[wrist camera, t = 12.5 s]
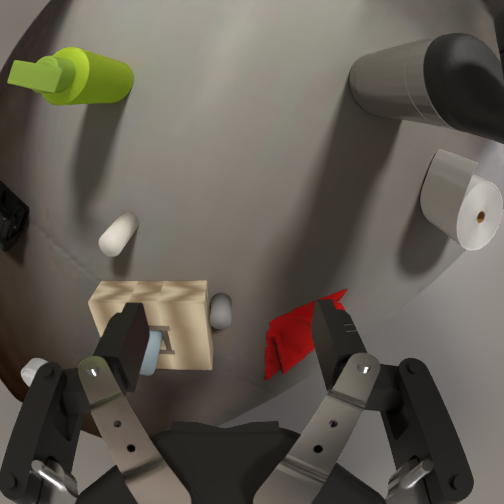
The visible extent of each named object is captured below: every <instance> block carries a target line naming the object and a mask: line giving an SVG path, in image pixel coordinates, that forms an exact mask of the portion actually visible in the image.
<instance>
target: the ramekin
mask: <svg viewBox="0 0 504 504" xmlns="http://www.w3.org/2000/svg"><path fill="white" fill-rule="evenodd" d="M45 363H48V362H47V361H45V360H43V359H41V358H33V359H32V360H30V361H29V362H28V364H27V365H26V366H25V367H23V369H22V371H21V376H22V378H23V380H24V381H25V383H26V384H27V385H28V386H29V387H30V385H31V383H32V381H33V378H34V376H35V374H36V372H37V370H38V369H39V367H40V366H42V365H43V364H45Z"/></svg>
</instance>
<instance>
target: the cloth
mask: <svg viewBox="0 0 504 504" xmlns="http://www.w3.org/2000/svg"><path fill="white" fill-rule="evenodd" d="M346 291H347V290H346V289H345V290H342V291H340V292H338V293H334V294H332V295H329V296H327V297H324V298H321V299H319V300H324V299H332V300H333V302H334V305H335V307H336V309H343V310H344V311H345V309H344V307H343V305H342V304H341V303H337V302H338V301H340V299H341V298H342V296H343V295H344V294H345V292H346ZM314 304H315V301H313V302H311V303H309V304H307V305H304V306H301V307H298V308H296V309H294V310H293V311H292V312H290V313H288V314H285V315H282V316H280V317H278V318H276V319H274V320H272V321H271V322H270V323H269V325H270V329H269V330H268V331H267V336H266V345H267V347H265V352H266V354H265V358H266V359H265V363H266V368H265V373H266V376H265V380H268V379H270V378H271V377H272V376H273V375H274V374H275V373H276V372H277V371H278V370H280V369H281V368H282V373H283V374H285V373H286V372H287V371H288V370H289V369H291V368H292V367H293V366H294V365H296V364H297V363H298V362H299V361H301V360H302V359H303V358H304V357H305V356H306V354H308V353H310V352H311V351H313V349H314V343H313V340H312V336H311V323H312V317H313V310H314Z"/></svg>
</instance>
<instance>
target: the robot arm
mask: <svg viewBox="0 0 504 504" xmlns="http://www.w3.org/2000/svg"><path fill="white" fill-rule="evenodd" d="M494 25H495V32H496V38H497V43H498V48H499V53H500V59H501V63H500V61H499V60H498V58H497V57H496V55H495V54H494V53H493V51H492V50H491V49H490V48H489V47H488V46H487V45H486V44H485V43H484V42H482V41H481V40H479V39H478V38H476V37H474V36H472V35H469V34H464V33H452V34H447V35H442V36H437V37H432V38H428V39H424V40H419V41H415V42H411V43H407V44H403V45H399V46H396V47H392V48H388V49H385V50H381V51H378V52H374V53H371V54H368V55H365V56H363V57H361V58H359V59H358V60H357V61H356V62H355V63H354V65H353V66H352V69H351V71H350V76H349V84H350V89H351V93H352V95H353V97H354V99H355V100H356V102H357V103H358V104H359V106H360V107H362V108H363V109H364V110H365V111H367V112H368V113H370V114H373V115H375V116H382V117H389V118H395V119H401V120H408V121H414V122H419V123H425V124H430V125H435V126H440V127H445V128H450V129H454V130H459V131H463V132H467V133H471V134H474V135H477V136H481V137H484V138H488V139H491V140H494V141H497V142H499V143H502V144H504V7H502V8H500V9H499V10H498V11H497V12H496V14H495V17H494ZM311 336H312V340H313V343H314V347H315V350H316V353H317V357H318V360H319V364H320V367H321V371H322V374H323V378H324V381H325V385H326V389H327V391H329V392H328V394H327V395H326V397H325V398H324V400H323V402H322V403H321V405H320V407H319V408H318V410H317V411H316V413H315V415H314V416H313V418H312V419H311V421H310V422H309V424H308V425H307V427H306V428H305V430H304V431H303V433H302V434H299V433H297V432H294V431H291V430H288V429H284V428H279V423H278V421H269V422H251V423H248V424H243V425H239V426H235V427H231V428H226V429H224V428H218V427H214V426H210V425H206V424H202V423H198V422H178V421H172V427H171V428H169V429H165V430H161V431H159V432H156V433H154V434H152V435H151V436H149V437H148V435H147V434H146V432H145V430H144V429H143V427H142V426H141V424H140V422H139V421H138V419H137V417H136V416H135V414H134V412H133V411H132V409H131V407H130V405H129V404H128V402H127V400H126V398H125V394H126V392H135V388H136V384H137V381H138V377H139V373H140V370H141V366H142V363H143V359H144V356H145V352H146V349H147V345H148V342H149V338H150V329H149V325H148V321H147V317H146V313H145V310H144V306H143V304H142V303H137V302H127V303H126V304H125V306H124V308H123V310H122V312H121V313H119V312H117V313H116V314H115V315H114V316H112V317H111V318H110V320H109V322H108V324H107V326H106V328H105V330H104V332H103V335H102V337H101V339H100V341H99V343H98V345H97V348H96V350H95V352H94V354H93V356H91V357H88V358H86V359H84V360H83V361H82V362H81V363H80V365H79V367H78V368H73V369H66V370H62V368H61V367H60V365H59V364H57V363H55V362H48V363H45V364H43V365H42V366H40V367H39V369H38V370H37V372H36V374H35V376H34V378H33V381H32V383H31V385H30V388H29V390H28V392H27V395H26V397H25V399H24V402H23V404H22V407H21V410H20V412H19V415H18V418H17V420H16V423H15V426H14V428H13V431H12V434H11V437H10V440H9V443H8V446H7V450H6V453H5V456H4V460H3V463H2V467H1V470H0V490H1V492H2V493H3V495H4V496H5V497H7V498H8V499H10V500H12V501H13V502H15V503H17V504H456V503H458V502H460V501H462V500H463V499H465V498H466V497H467V496H468V495H469V494H470V493H471V491H472V489H473V485H474V480H473V476H472V473H471V470H470V467H469V464H468V461H467V459H466V456H465V453H464V451H463V448H462V445H461V443H460V440H459V437H458V435H457V432H456V430H455V428H454V425H453V423H452V420H451V418H450V416H449V414H448V411H447V409H446V407H445V404H444V402H443V400H442V398H441V396H440V393H439V391H438V389H437V387H436V385H435V383H434V381H433V378H432V376H431V375H430V372H429V370H428V368H427V366H426V365H425V364H424V363H423V362H422V361H420V360H418V359H414V358H407V359H404V360H403V361H402V362H401V363H400V364H399V366H392V365H384V364H380V363H379V361H378V359H376V357H374V356H372V355H370V354H368V353H367V351H366V349H365V347H364V344H363V342H362V340H361V338H360V336H359V333H358V331H357V329H356V327H355V325H354V323H353V321H352V319H351V317H350V315H349V314H348V313H347V312H345V311H344V310H343V309H336V307H335V305H334V302H333V300H332V299H324V300H316V301H315V304H314V310H313V317H312V323H311ZM330 390H331V391H330ZM363 410H373V411H380V413H381V416H382V419H383V422H384V426H385V430H386V433H387V437H388V440H389V444H390V448H391V451H392V455H393V459H394V463H395V466H396V470H397V471H396V472H395V473H394V474H393V475H392V476H391V478H390V479H389V483H388V494H387V497H386V498H385V499H384V498H383V497H382V496H381V495H380V494H379V493H378V492H376V491H375V490H374V489H372V488H371V487H369V486H368V485H366V484H365V483H364V482H362V481H361V480H360V479H358V478H357V477H355V476H354V475H353V474H351V473H350V472H349V471H347V470H346V469H345V468H343V467H342V466H341V465H339V464H338V463H337V460H338V459H339V457H340V455H341V453H342V452H343V450H344V448H345V446H346V444H347V442H348V440H349V438H350V436H351V434H352V433H353V430H354V428H355V427H356V425H357V422H358V420H359V418H360V416H361V414H362V412H363ZM85 413H92V416H93V418H94V420H95V422H96V425H97V427H98V429H99V431H100V433H101V435H102V437H103V439H104V442H105V444H106V446H107V448H108V449H109V451H110V453H111V455H112V457H113V459H114V461H115V463H116V465H115V466H114V467H112V468H111V469H110V470H109V471H107V472H106V473H105V474H104V475H102V476H101V477H100V478H99V479H98V480H96V481H95V482H94V483H93V484H91V485H90V486H89V487H88V488H86V489H85V490H84V491H83V492H81V493H80V495H78V490H77V482H76V480H75V478H74V476H73V475H72V474H71V471H72V466H73V461H74V456H75V452H76V447H77V443H78V438H79V434H80V430H81V426H82V422H83V418H84V415H85Z"/></svg>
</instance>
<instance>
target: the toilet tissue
mask: <svg viewBox="0 0 504 504" xmlns="http://www.w3.org/2000/svg"><path fill="white" fill-rule="evenodd" d="M478 164H479V163H478V162H475V161H472V160H469V159H467V158H464V157H462V156H459V155H456V154H453V153H450V152H447V151H444V150H441V149H439V150H438V151H437V153H436V155H435V157H434V158H433V161H432V163H431V166H430V168H429V171H428V173H427V176H426V179H425V182H424V184H423V187H422V191H421V198H420V202H421V209H422V212H423V214H424V216H425V217H426V219H427V220H428V221H429V222H430V223H432V224H433V225H435V226H436V227H437V228H439V229H440V230H441V231H443V232H444V233H446V234H447V235H448V236H449V237H450V238H452V239H453V240H454V241H456V242H457V243H458V244H459V245H461V246H462V247H463V248H464V249H467V250H470V251H474V250H478V249H480V248H482V247H483V246H485V245H486V244H488V242H489V241H490V240H491V238H492V237H493V236H494V235H495V233H496V231H497V228H498V226H499V225H500V220H501V217H502V207H503V205H502V201H503V200H502V196H501V194H500V191H499V189H498V188H497V187H496V186H495V185H494V184H493V183H492V182H490V181H487V180H485V179H482V178H480V177H478V176H477V175H474V174H473V173H474V171H475V169H476V167H477V165H478Z"/></svg>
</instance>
